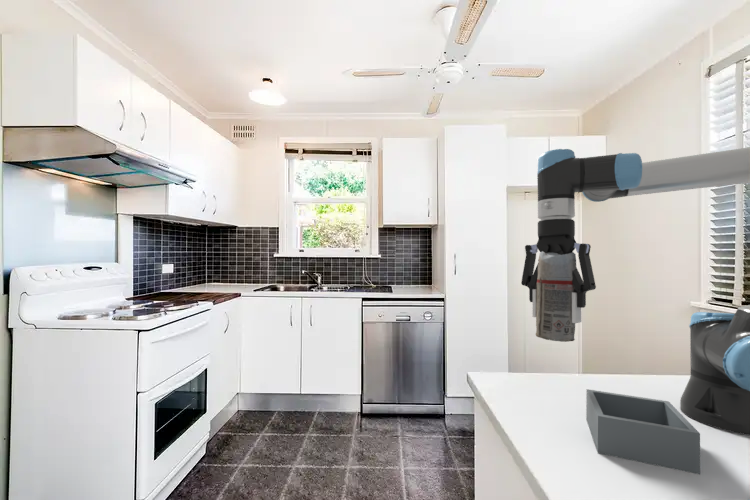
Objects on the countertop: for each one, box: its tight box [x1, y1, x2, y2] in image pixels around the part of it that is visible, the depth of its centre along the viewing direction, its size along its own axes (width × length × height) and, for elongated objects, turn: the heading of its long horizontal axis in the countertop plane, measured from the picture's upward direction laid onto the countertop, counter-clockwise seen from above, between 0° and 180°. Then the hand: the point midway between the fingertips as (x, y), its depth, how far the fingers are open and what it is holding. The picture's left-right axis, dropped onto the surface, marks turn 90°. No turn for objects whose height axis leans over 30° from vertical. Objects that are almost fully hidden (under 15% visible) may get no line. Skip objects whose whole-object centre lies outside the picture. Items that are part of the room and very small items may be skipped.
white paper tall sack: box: [535, 251, 577, 343], centre depth 79 cm, size 8×8×20 cm
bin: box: [585, 389, 701, 475], centre depth 65 cm, size 14×14×6 cm
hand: (556, 319), depth 79 cm, fingers closed on white paper tall sack, 8 cm apart
